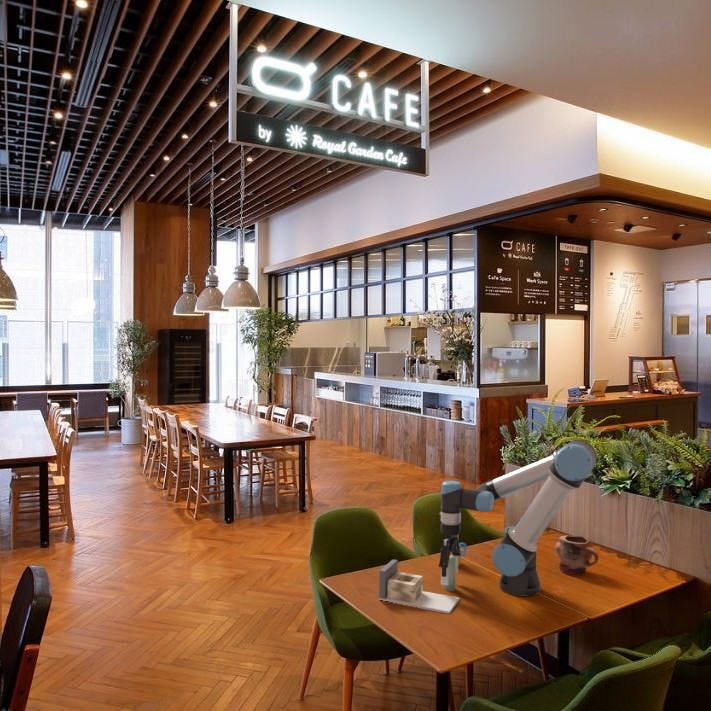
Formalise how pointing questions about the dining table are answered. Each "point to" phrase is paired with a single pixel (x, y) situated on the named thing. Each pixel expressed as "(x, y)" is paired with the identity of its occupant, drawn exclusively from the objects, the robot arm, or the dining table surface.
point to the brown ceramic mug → (575, 554)
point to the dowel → (451, 575)
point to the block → (405, 586)
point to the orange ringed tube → (460, 552)
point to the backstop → (423, 601)
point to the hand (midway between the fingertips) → (449, 578)
